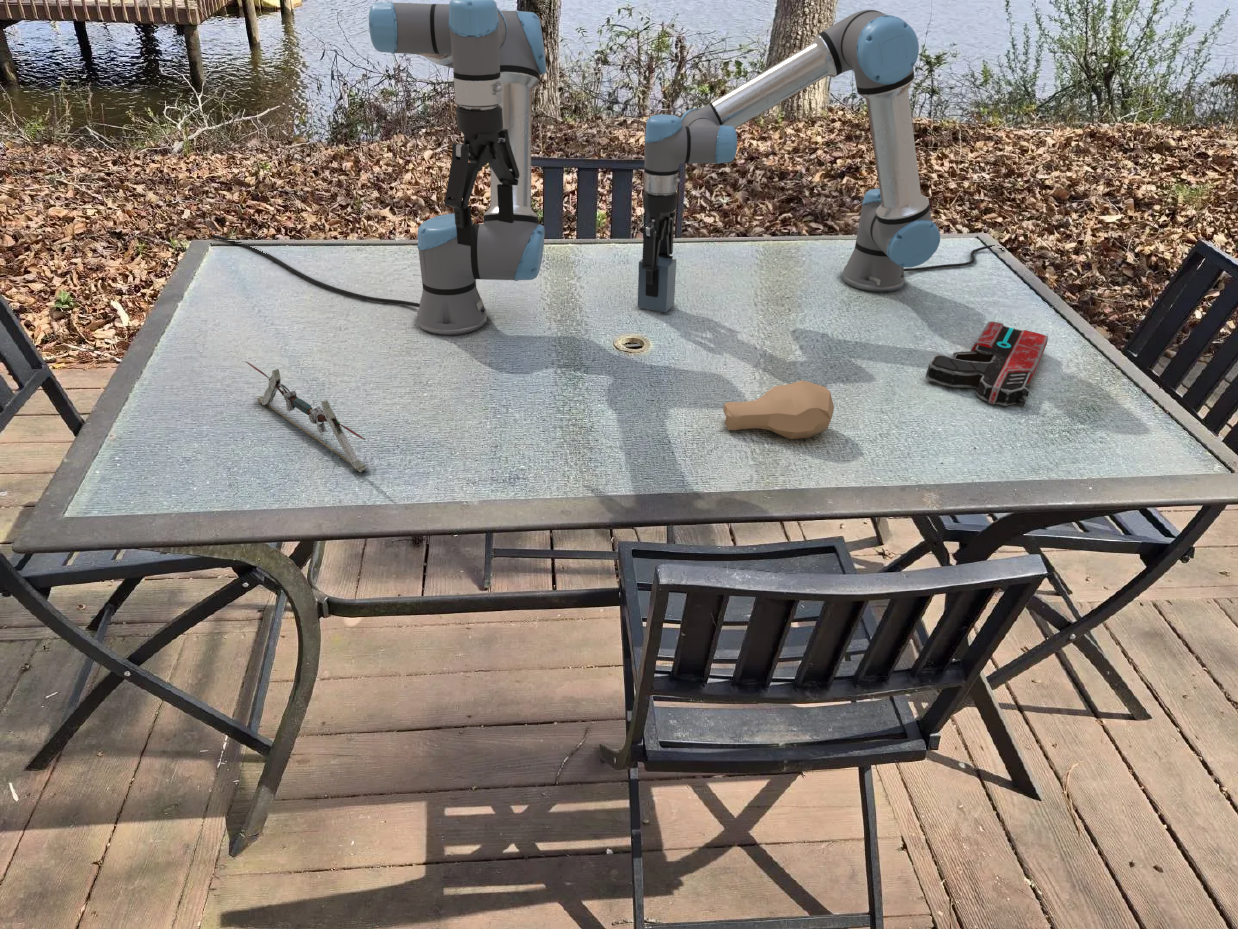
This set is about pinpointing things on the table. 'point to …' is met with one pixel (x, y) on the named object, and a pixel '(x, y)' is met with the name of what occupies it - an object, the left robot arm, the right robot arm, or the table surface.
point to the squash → (784, 411)
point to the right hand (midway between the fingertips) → (656, 291)
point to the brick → (664, 286)
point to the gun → (993, 364)
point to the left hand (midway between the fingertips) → (486, 232)
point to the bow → (311, 415)
